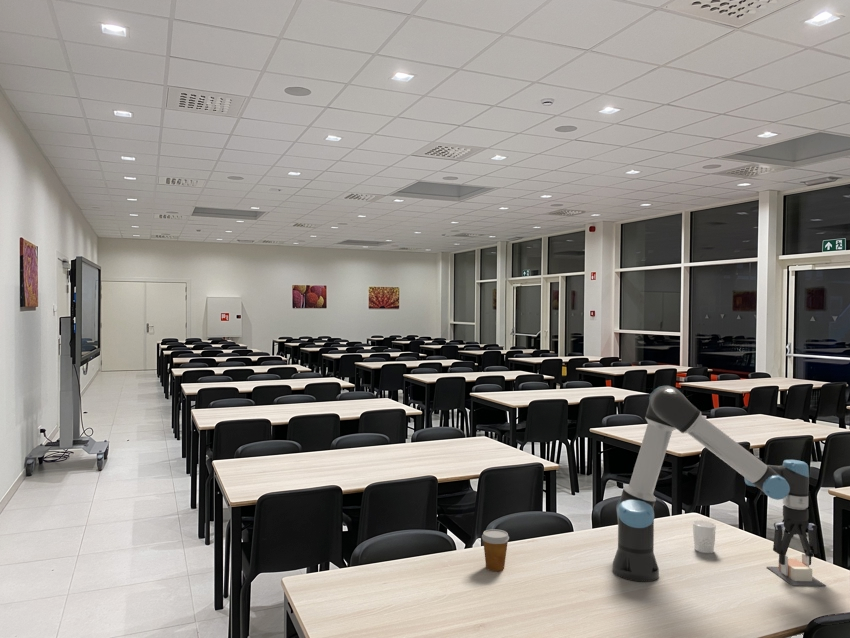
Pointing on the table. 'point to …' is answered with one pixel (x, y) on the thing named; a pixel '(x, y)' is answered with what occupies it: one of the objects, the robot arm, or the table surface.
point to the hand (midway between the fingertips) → (794, 573)
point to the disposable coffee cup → (495, 548)
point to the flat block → (798, 570)
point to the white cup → (704, 536)
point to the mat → (795, 583)
